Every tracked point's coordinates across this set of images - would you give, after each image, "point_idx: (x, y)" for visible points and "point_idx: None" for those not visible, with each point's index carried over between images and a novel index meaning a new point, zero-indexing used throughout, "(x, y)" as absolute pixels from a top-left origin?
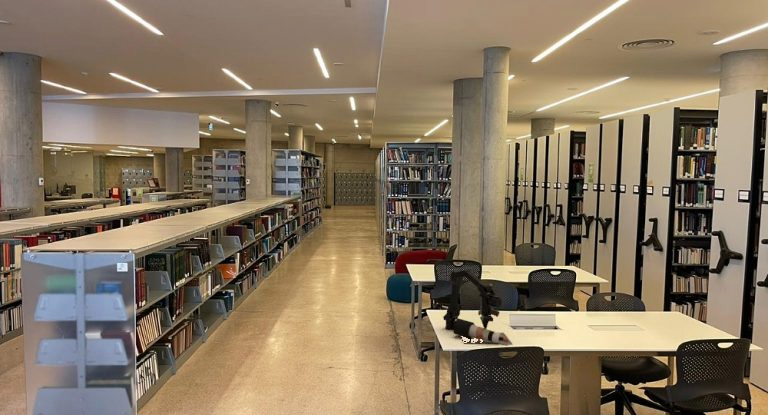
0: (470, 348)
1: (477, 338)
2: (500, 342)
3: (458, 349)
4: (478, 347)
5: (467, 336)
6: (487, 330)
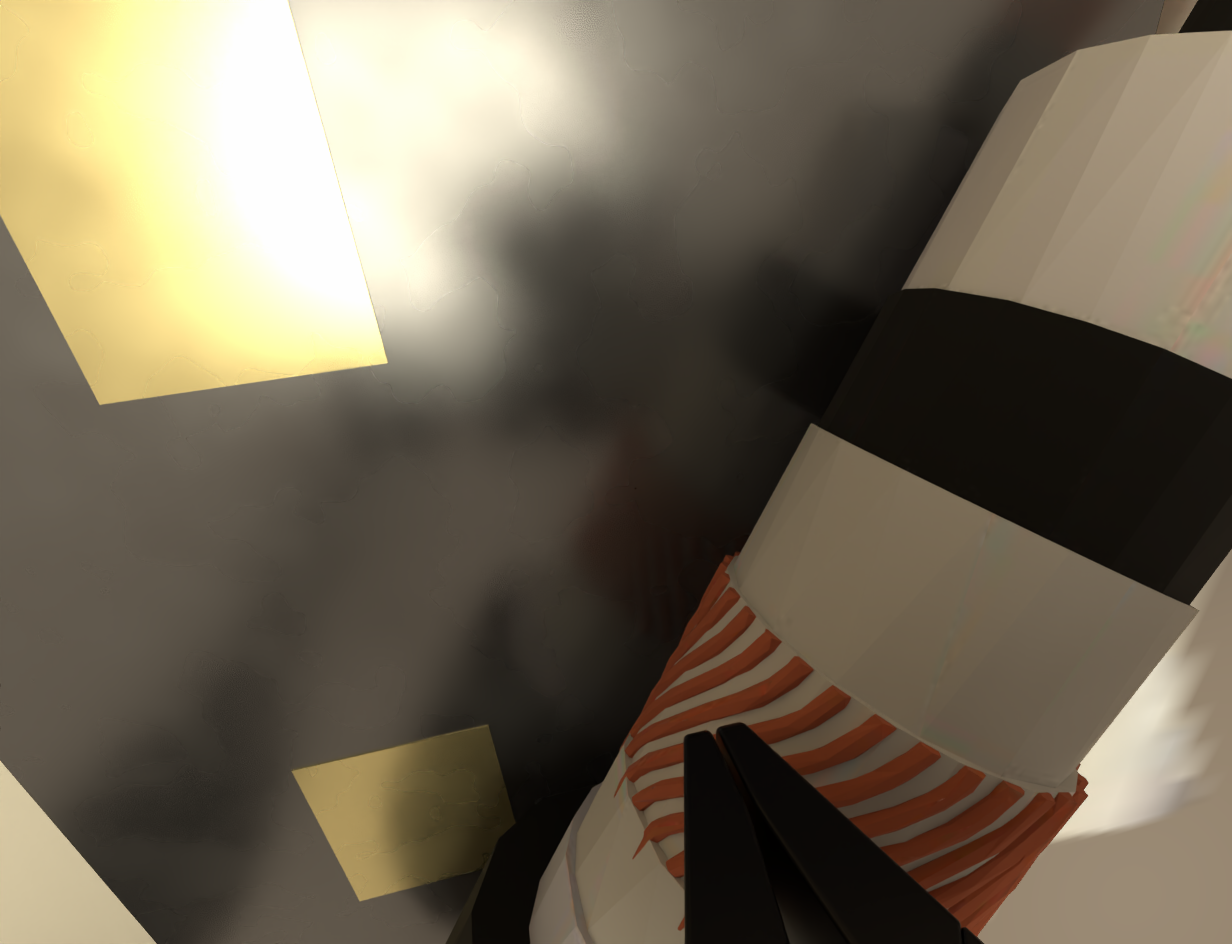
0: (1167, 703)
1: (629, 681)
2: (975, 107)
3: (1154, 810)
4: None
5: None
6: (1132, 692)
